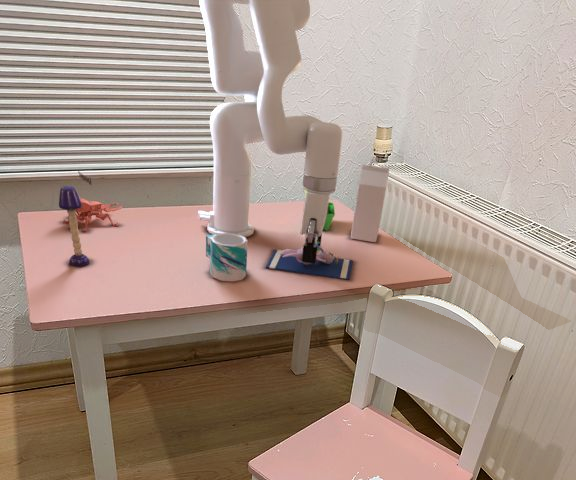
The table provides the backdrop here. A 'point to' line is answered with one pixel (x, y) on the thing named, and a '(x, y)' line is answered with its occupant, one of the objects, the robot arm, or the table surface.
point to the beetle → (92, 210)
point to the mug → (227, 256)
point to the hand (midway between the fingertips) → (311, 254)
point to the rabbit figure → (320, 257)
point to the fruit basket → (328, 215)
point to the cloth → (311, 266)
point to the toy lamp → (73, 222)
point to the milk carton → (369, 203)
